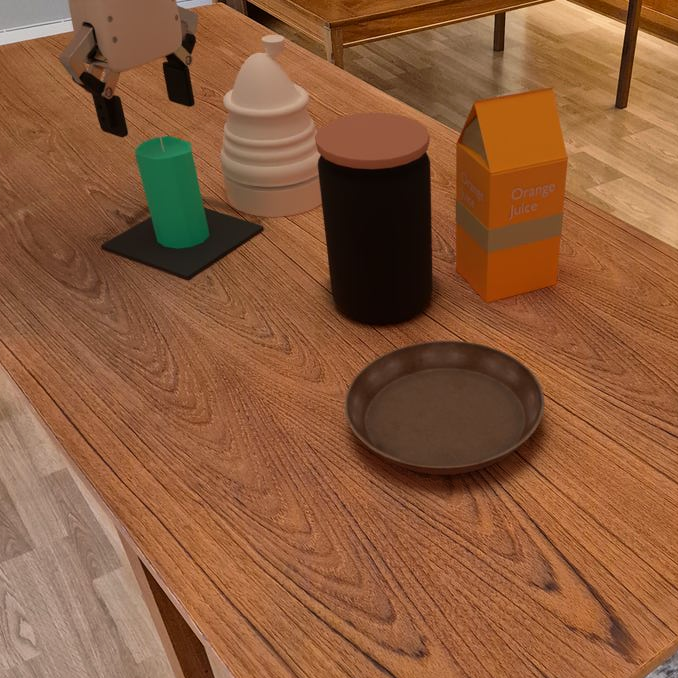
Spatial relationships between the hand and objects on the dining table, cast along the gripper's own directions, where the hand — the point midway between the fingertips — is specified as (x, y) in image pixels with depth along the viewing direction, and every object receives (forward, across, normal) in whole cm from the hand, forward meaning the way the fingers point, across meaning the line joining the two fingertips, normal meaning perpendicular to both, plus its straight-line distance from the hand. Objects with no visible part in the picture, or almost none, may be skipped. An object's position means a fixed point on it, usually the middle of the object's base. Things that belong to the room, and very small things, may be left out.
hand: (149, 118), depth 94 cm
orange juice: (+13, -13, +37) cm, 41 cm away
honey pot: (+14, -16, +3) cm, 21 cm away
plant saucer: (+14, +12, +44) cm, 48 cm away
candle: (+14, -1, +1) cm, 14 cm away
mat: (+14, -1, +1) cm, 14 cm away
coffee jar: (+14, -2, +28) cm, 31 cm away
